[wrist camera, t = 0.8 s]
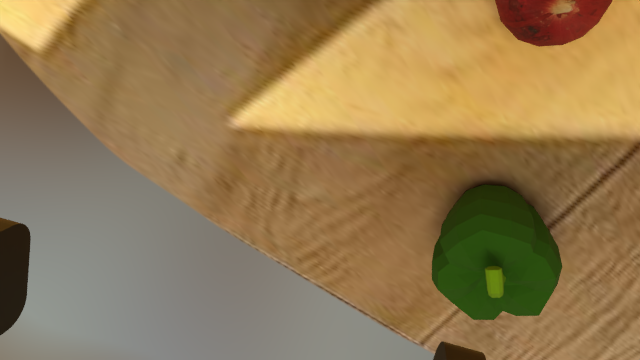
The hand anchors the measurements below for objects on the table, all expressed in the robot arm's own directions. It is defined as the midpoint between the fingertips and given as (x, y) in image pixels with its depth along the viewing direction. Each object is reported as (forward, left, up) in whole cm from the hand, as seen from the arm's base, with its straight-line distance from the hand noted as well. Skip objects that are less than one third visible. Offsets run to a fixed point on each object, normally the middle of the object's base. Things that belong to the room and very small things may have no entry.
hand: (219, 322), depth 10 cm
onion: (+1, +8, -30) cm, 31 cm away
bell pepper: (+18, +4, -30) cm, 35 cm away
